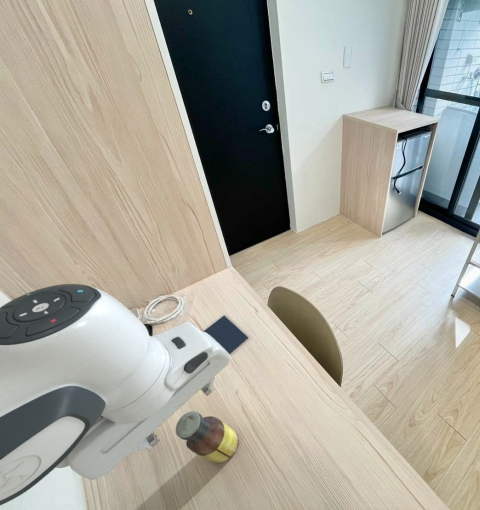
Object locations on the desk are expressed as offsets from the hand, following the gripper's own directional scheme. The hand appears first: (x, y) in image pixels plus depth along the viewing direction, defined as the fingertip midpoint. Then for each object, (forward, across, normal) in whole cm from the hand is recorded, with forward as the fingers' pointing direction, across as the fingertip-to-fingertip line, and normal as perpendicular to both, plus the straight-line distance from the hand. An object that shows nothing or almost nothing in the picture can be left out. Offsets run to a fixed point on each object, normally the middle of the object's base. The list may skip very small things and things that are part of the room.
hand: (182, 414), depth 43 cm
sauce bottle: (+24, 0, 0) cm, 24 cm away
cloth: (+24, +12, +24) cm, 35 cm away
